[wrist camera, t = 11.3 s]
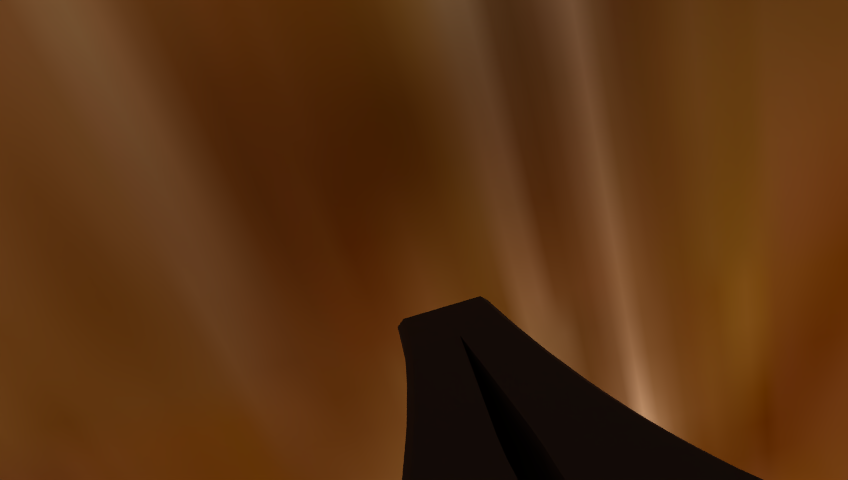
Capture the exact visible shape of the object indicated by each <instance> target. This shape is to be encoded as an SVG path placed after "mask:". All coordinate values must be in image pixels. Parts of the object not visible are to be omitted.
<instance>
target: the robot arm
mask: <svg viewBox="0 0 848 480" xmlns="http://www.w3.org/2000/svg"><path fill="white" fill-rule="evenodd" d="M398 330H399V334H400V339H401V343H402V347H403V351H404V355H405V361H406V374H407V429H406V442H405V453H404V465H403V476H402V480H763V479H761V478H758V477H756V476H754V475H752V474H749V473H747V472H745V471H743V470H740V469H738V468H736V467H734V466H732V465H730V464H728V463H726V462H724V461H722V460H720V459H719V458H717V457H715V456H713V455H711V454H709V453H707V452H705V451H703V450H701V449H699V448H697V447H695V446H693V445H692V444H690V443H688V442H686V441H684V440H683V439H681V438H679V437H677V436H675V435H674V434H672V433H670V432H668V431H666V430H665V429H663V428H661V427H659V426H658V425H656V424H654V423H653V422H651V421H649V420H648V419H646V418H644V417H643V416H641V415H639V414H638V413H636V412H635V411H633V410H631V409H630V408H628V407H627V406H625V405H624V404H622V403H621V402H619V401H618V400H616V399H614V398H613V397H611V396H610V395H608V394H607V393H605V392H604V391H602V390H601V389H599V388H598V387H596V386H595V385H594V384H592V383H591V382H589V381H588V380H586V379H585V378H584V377H582V376H581V375H579V374H578V373H577V372H575V371H574V370H573V369H571V368H570V367H569V366H567V365H566V364H564V363H563V362H562V361H560V360H559V359H558V358H556V357H555V356H554V355H552V354H551V353H550V352H548V351H547V350H546V349H545V348H543V347H542V346H541V345H539V344H538V343H537V342H536V341H534V340H533V339H532V338H531V337H530V336H528V335H527V334H526V333H525V332H523V331H522V330H521V329H520V328H519V327H517V326H516V325H515V324H514V323H513V322H512V321H510V320H509V319H508V318H507V317H506V316H505V315H504V314H502V313H501V312H500V311H499V310H498V309H497V308H496V307H495V306H493V305H492V304H491V303H490V302H489V301H488V300H486V299H484V298H483V297H481V296H479V297H476V298H473V299H469V300H466V301H463V302H459V303H456V304H453V305H449V306H446V307H442V308H439V309H436V310H432V311H429V312H426V313H422V314H419V315H416V316H412V317H409V318H405V319H403V321H402V322H401V323H400V325H399V326H398Z"/></svg>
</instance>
